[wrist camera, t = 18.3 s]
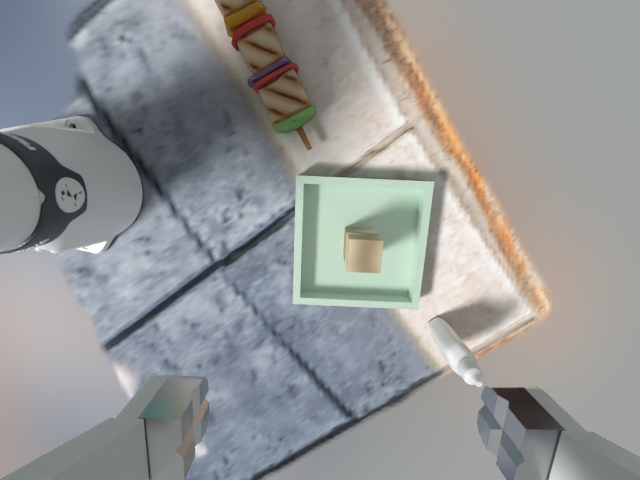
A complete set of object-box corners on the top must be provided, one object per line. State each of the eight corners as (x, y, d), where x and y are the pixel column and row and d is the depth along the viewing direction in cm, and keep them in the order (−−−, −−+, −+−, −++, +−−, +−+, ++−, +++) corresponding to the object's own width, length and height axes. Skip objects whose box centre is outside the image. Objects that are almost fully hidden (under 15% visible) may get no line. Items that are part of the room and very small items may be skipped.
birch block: (342, 254, 44) (347, 271, 36) (344, 227, 43) (349, 239, 35) (370, 255, 44) (380, 273, 36) (372, 228, 43) (383, 240, 35)
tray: (294, 295, 46) (292, 303, 43) (298, 175, 42) (296, 175, 39) (412, 300, 46) (418, 309, 43) (426, 181, 42) (434, 181, 39)
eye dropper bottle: (454, 314, 46) (498, 361, 35) (454, 346, 48) (498, 403, 36) (425, 316, 47) (460, 365, 35) (427, 349, 48) (461, 406, 36)
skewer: (212, 9, 38) (196, -15, 33) (257, -18, 37) (247, -46, 32) (289, 161, 42) (284, 160, 37) (330, 139, 41) (331, 135, 36)
